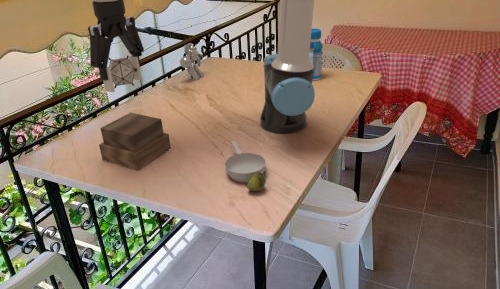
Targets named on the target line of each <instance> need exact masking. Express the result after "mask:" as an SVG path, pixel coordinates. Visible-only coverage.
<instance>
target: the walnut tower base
mask: <svg viewBox="0 0 500 289" xmlns="http://www.w3.org/2000/svg"><path fill="white" fill-rule="evenodd" d="M100 132H101V136H102V141H103V142H101V143H99V144H98V146H99V151H100V155H101V159H102V161H105V162H109V163H111V164H115V165H118V166H121V167H125V168H129V169H132V170H134V171H135V170H136V171H140V170H141V169H143V168H144V167H146V166H148V165H149V164H150V162H151V163H152V162H153V161H155V160H156V159H158V158H159V157H161V156H163V155H164V154H165V153H167V152H168V151H170V150H171V149H172V148H171V141H170V134H169V133H167V132H164V127H163V121H162V118H158V117H153V116H150V115H144V114H139V113H135V112H129V113H126V114H124V115H123V116H121V117H119V118H117V119H116V120H113V121H112V122H109V123H108V124H106V125H104V126H102V127H100ZM169 149H170V150H169ZM166 151H167V152H166ZM163 153H164V154H163ZM160 155H161V156H160ZM157 157H158V158H157Z"/></svg>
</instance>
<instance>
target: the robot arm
mask: <svg viewBox="0 0 500 289" xmlns="http://www.w3.org/2000/svg"><path fill="white" fill-rule="evenodd" d="M125 7H126V6H125V1H124V0H92V9H93V14H94V16H95V17H96V19H97V24H95V25H94V26H88V27H87V31H88V33H89V34H88V35H89V52H90V53H89V54H90V57H89V58H90V67H91V68H96V69H98V72H99V75H100V80H101V81H103V82H102V83H103V85H104V91H105V92H109V93H114V92H116V90H115V88H114V87H115V84H114V83H113V80H112V75H111V70H110V67H109V66H108V63H109V58H110V51H111V46H112V43H113V42H114V39H116V38H117V37H118V38H119V39H120V41H121V42H122V43H123V45H124V47H125V48H126V49H127V51H128V53H129V54H130V55H129V58H128V59H129V61H130V62H131V64H132V65H133V67H134V69H135V68H137V71H136V72H135V73H134V78H133V81H134V80H135V81H142V74H141V73H142V72H141V60H140V57H142V56H143V53H144V50H145V48H144V46H143V43H142V40H141V37H140V35H139V32H138V28H137V27H136V19H135V17H134V16H125V14H126V8H125ZM314 8H315V0H280V7H279V22H278V26H279V27H278V38H277V39H278V41H277V53H273V54H268V55H267V56H265V57H264V59H263V67H264V68H263V72H264V104H263V108H262V111H261V114H260V119H259V120H260V126H261V128H262V129H264V130H265V131H267V132H268V131H269V132H271V133H276V134H289V133H291V134H292V133H296V132H299V131H301V130H303V129H304V128H305V127H306V126H307V124H308V123H307V118H308V117H307V113H306V111H308V110H309V109H310V108H311V107H312V105H313V103H314V102H315V98H316V92H315V87H314V86H313V85H314V84H313V81H312V79H313V68H314V65H313V64H312V63H311V62H310V61H309V51H310V41H311V30H312V29H313V18H314V17H313V16H314V10H315V9H314Z"/></svg>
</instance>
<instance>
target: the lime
mask: <svg viewBox="0 0 500 289" xmlns="http://www.w3.org/2000/svg"><path fill="white" fill-rule="evenodd" d="M246 183H247V184H246V189H248V190H249V191H251V192H259V191H261V190H262V189H264V188H265V185H266V177H265V175H264V173H263V174H262V173H261V172H257V173H255V174H254V175H253V176H252V177H251V178H250V180H249V181H248V182H246Z"/></svg>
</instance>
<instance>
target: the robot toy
mask: <svg viewBox="0 0 500 289" xmlns="http://www.w3.org/2000/svg"><path fill="white" fill-rule="evenodd" d="M197 49H198V48H197V46H195V45H193V43H192V42H190V43H187V44H184V49H183V50H184V54H185V55H186V56H182V57H181V58H180V59H179V65H180V66H181V67H182V68H185V69H187V74H188V75H189V77H188V78H187V79H188V80H191V81H192V80H193V81H198V80H200V78H203V77H204V73H203V72H202V71H200V67H201V64H202V61H203V58H204V57H203V56H204V55H203V54H202V53H199V52H198V51H197ZM195 62H197V64H195Z"/></svg>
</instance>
